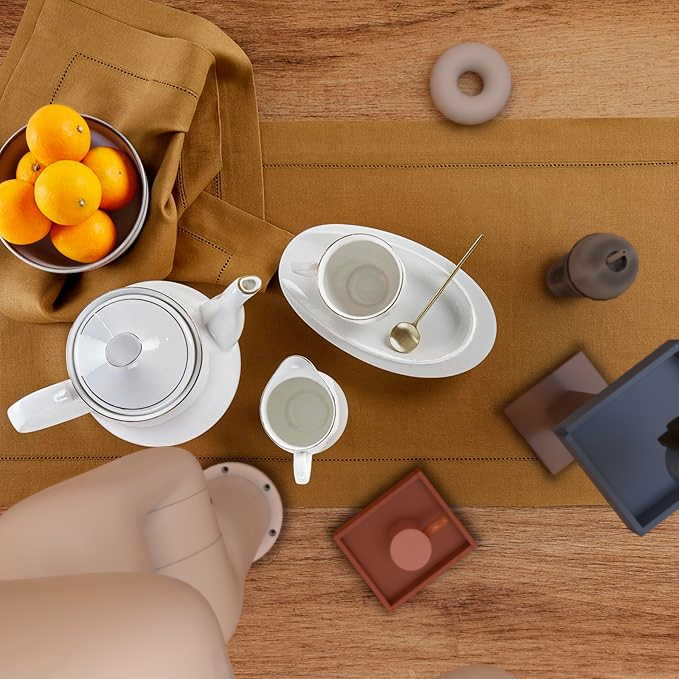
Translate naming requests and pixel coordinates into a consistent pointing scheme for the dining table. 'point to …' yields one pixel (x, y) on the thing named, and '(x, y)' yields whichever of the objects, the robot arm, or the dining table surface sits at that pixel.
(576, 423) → the blue tray
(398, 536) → the rust mug
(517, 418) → the stand
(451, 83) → the donut
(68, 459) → the dining table surface
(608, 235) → the beverage cup
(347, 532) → the rust tray
